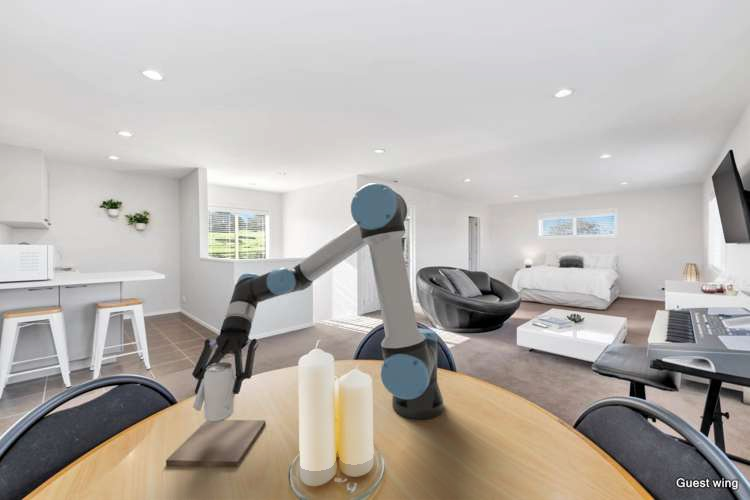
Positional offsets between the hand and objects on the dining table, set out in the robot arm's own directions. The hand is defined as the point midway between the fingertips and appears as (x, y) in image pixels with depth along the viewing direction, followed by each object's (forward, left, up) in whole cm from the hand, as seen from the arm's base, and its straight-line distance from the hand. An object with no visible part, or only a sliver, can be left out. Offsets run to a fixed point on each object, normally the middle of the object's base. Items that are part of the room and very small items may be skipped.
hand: (212, 408), depth 73 cm
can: (0, -4, -4) cm, 5 cm away
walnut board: (0, -3, -10) cm, 11 cm away
